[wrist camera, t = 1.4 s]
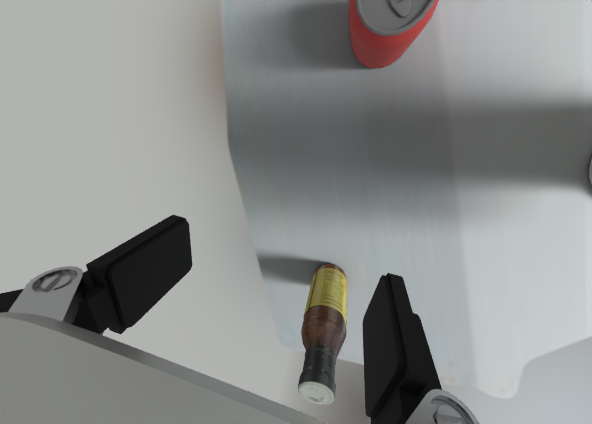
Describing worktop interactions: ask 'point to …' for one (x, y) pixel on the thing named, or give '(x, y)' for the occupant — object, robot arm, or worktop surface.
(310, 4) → the worktop surface
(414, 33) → the beer can
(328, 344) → the sauce bottle
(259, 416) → the robot arm
